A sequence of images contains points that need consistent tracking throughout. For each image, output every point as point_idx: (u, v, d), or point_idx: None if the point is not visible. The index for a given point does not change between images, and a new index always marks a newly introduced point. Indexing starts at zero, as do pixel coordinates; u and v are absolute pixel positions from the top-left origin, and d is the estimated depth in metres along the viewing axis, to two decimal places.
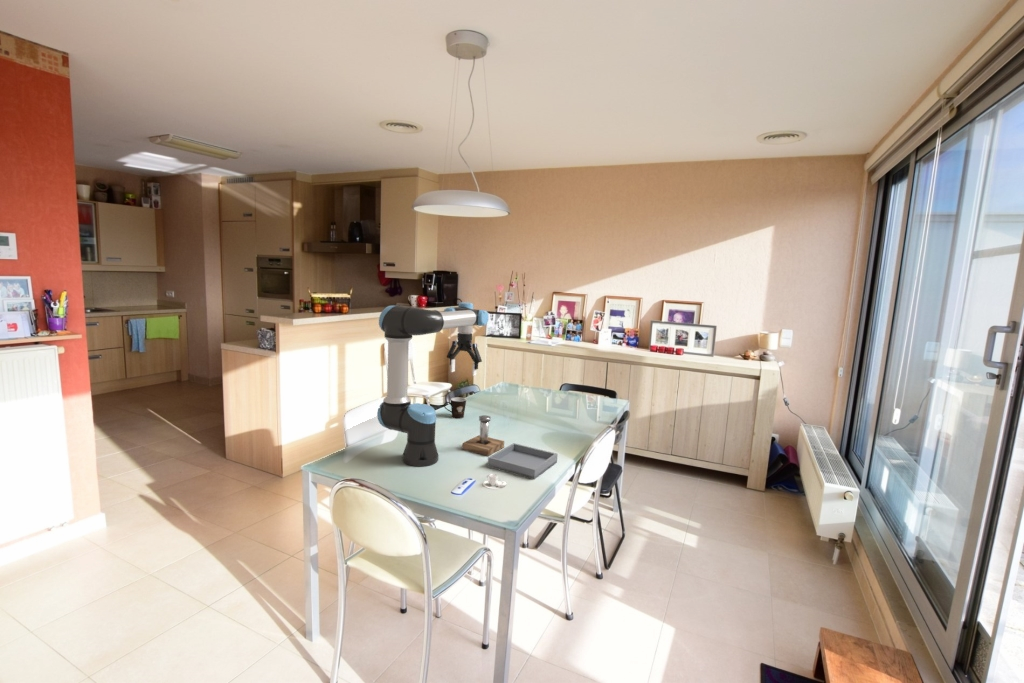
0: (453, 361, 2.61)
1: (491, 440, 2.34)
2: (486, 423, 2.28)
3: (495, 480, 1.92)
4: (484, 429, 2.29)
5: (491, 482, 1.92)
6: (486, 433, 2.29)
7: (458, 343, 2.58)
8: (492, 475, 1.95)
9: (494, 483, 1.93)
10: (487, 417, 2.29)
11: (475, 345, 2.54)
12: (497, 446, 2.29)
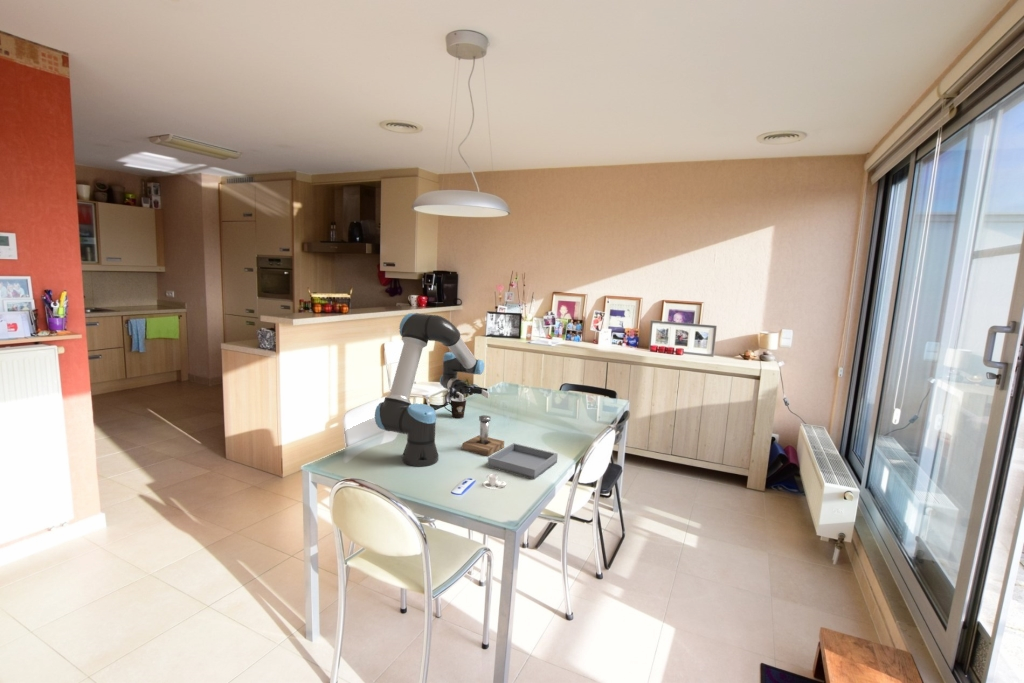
0: None
1: (491, 440, 2.34)
2: (486, 423, 2.28)
3: (495, 480, 1.92)
4: (484, 429, 2.29)
5: (491, 482, 1.92)
6: (486, 433, 2.29)
7: (456, 387, 2.49)
8: (492, 475, 1.95)
9: (494, 483, 1.92)
10: (487, 417, 2.29)
11: None
12: (497, 446, 2.29)
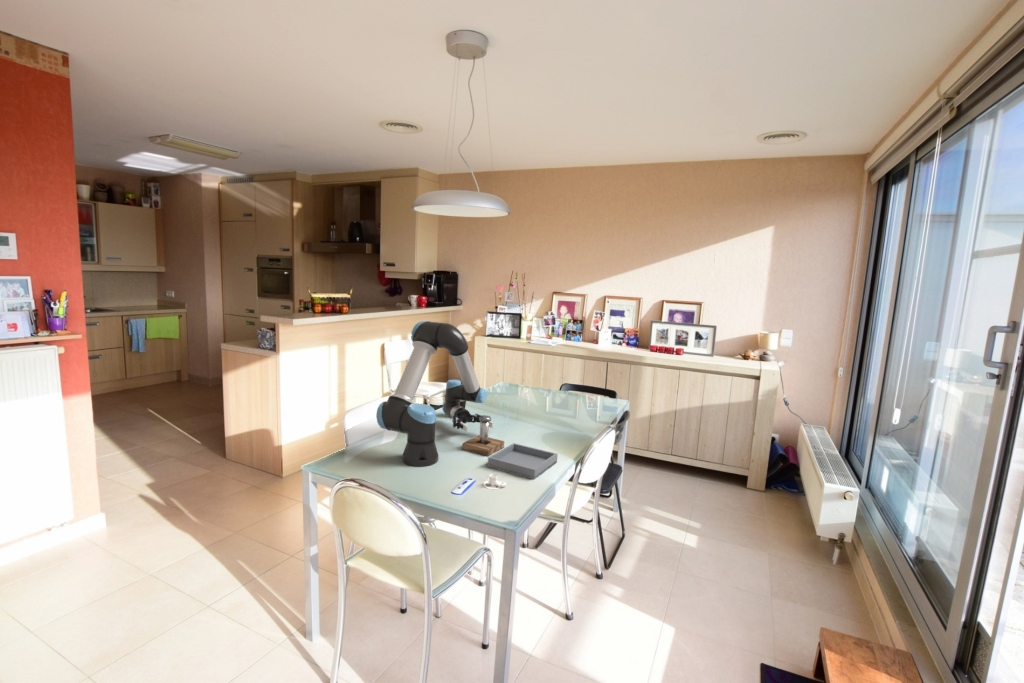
0: None
1: (491, 440, 2.34)
2: (486, 423, 2.28)
3: (495, 480, 1.92)
4: (484, 429, 2.29)
5: (491, 482, 1.92)
6: (486, 433, 2.29)
7: (460, 416, 2.47)
8: (492, 475, 1.95)
9: (494, 483, 1.92)
10: (487, 417, 2.29)
11: None
12: (497, 446, 2.29)
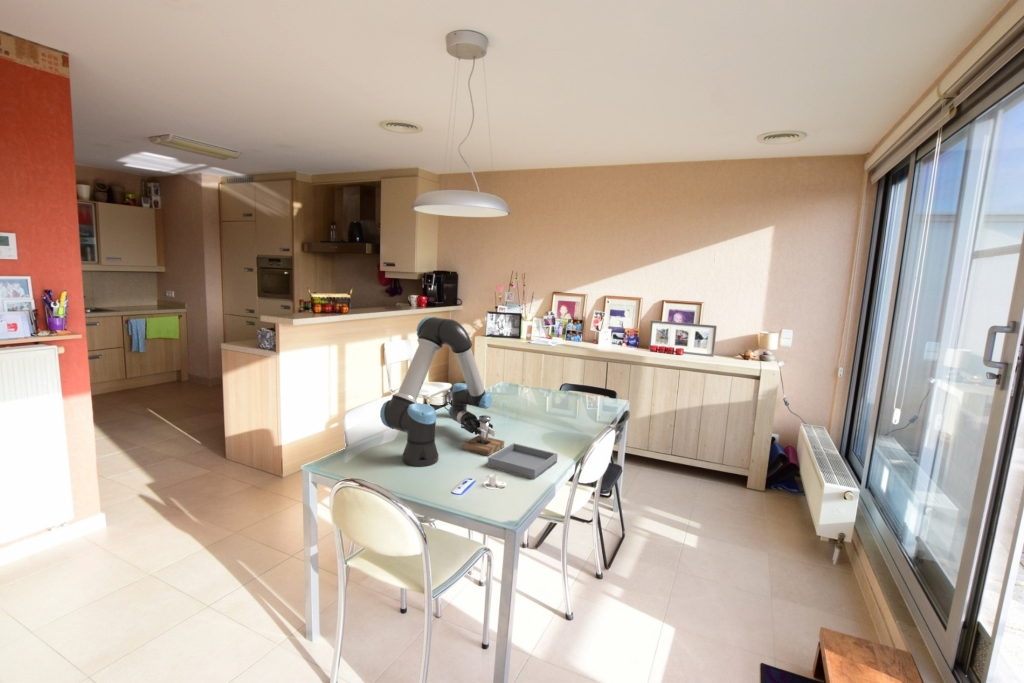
0: None
1: (491, 440, 2.34)
2: (486, 423, 2.28)
3: (495, 480, 1.92)
4: (484, 429, 2.29)
5: (491, 482, 1.92)
6: (486, 433, 2.29)
7: (466, 421, 2.39)
8: (492, 475, 1.94)
9: (494, 483, 1.92)
10: (487, 417, 2.29)
11: None
12: (497, 446, 2.29)
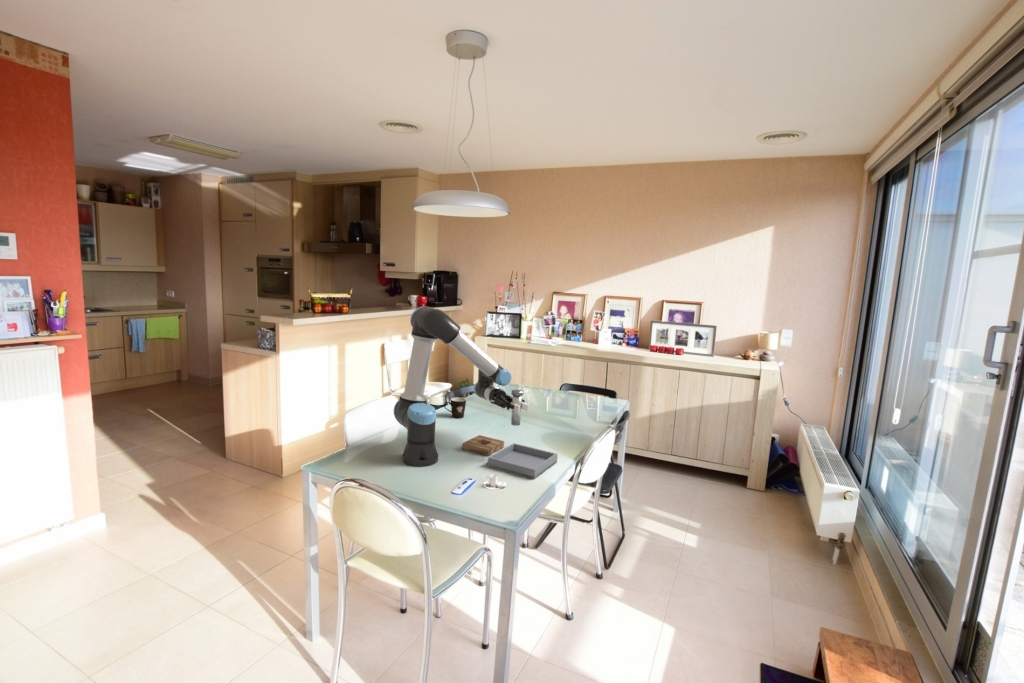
0: None
1: (491, 440, 2.34)
2: (519, 397, 2.17)
3: (495, 481, 1.92)
4: (517, 403, 2.17)
5: (491, 483, 1.92)
6: None
7: (496, 396, 2.27)
8: (492, 476, 1.94)
9: (494, 484, 1.92)
10: (520, 391, 2.18)
11: None
12: (497, 446, 2.29)
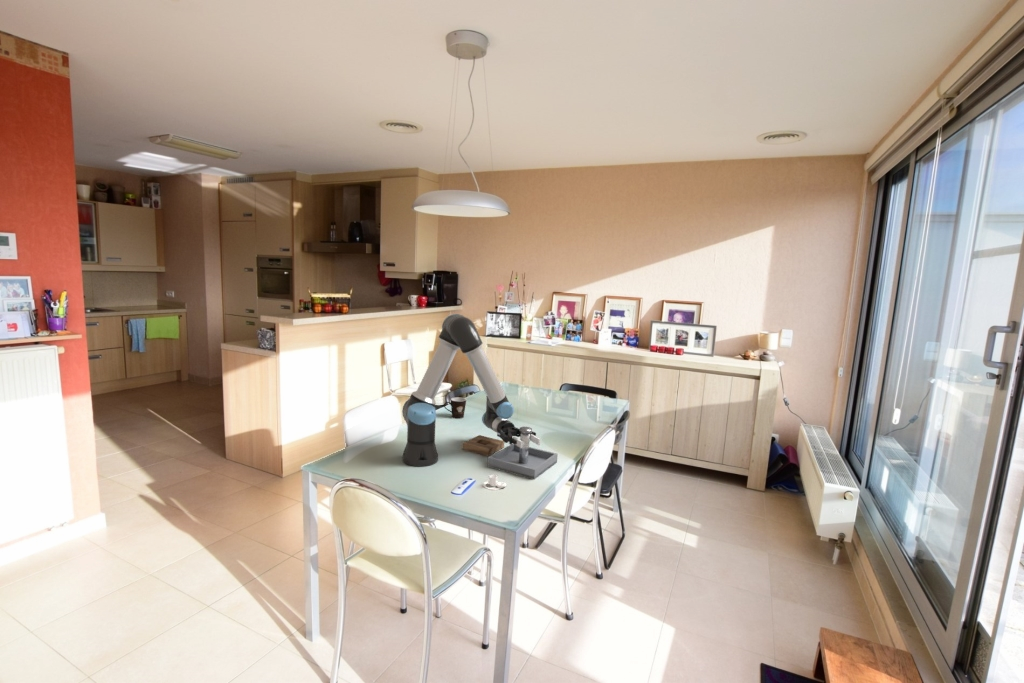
0: None
1: (491, 440, 2.34)
2: (527, 435, 2.11)
3: (495, 481, 1.92)
4: (525, 442, 2.12)
5: (491, 483, 1.92)
6: (527, 446, 2.12)
7: (504, 429, 2.22)
8: (492, 476, 1.94)
9: (494, 484, 1.92)
10: (528, 429, 2.12)
11: None
12: (497, 446, 2.29)
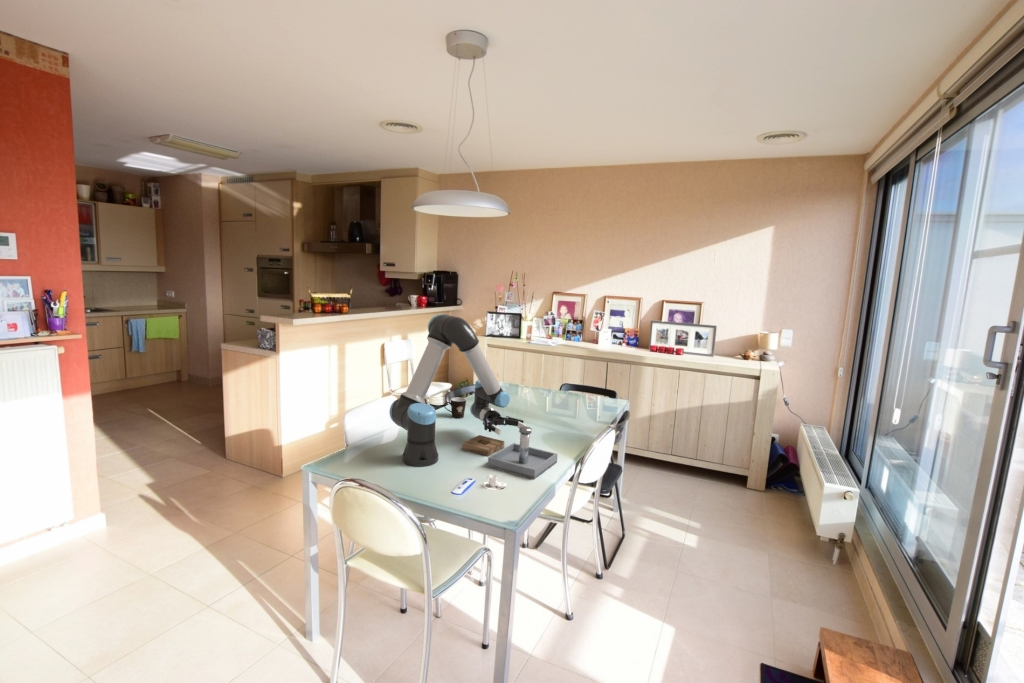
0: None
1: (491, 440, 2.34)
2: (527, 435, 2.12)
3: (495, 481, 1.92)
4: (525, 441, 2.12)
5: (491, 483, 1.92)
6: (527, 446, 2.13)
7: (490, 418, 2.33)
8: (492, 476, 1.94)
9: (494, 484, 1.92)
10: (528, 429, 2.12)
11: None
12: (497, 446, 2.29)
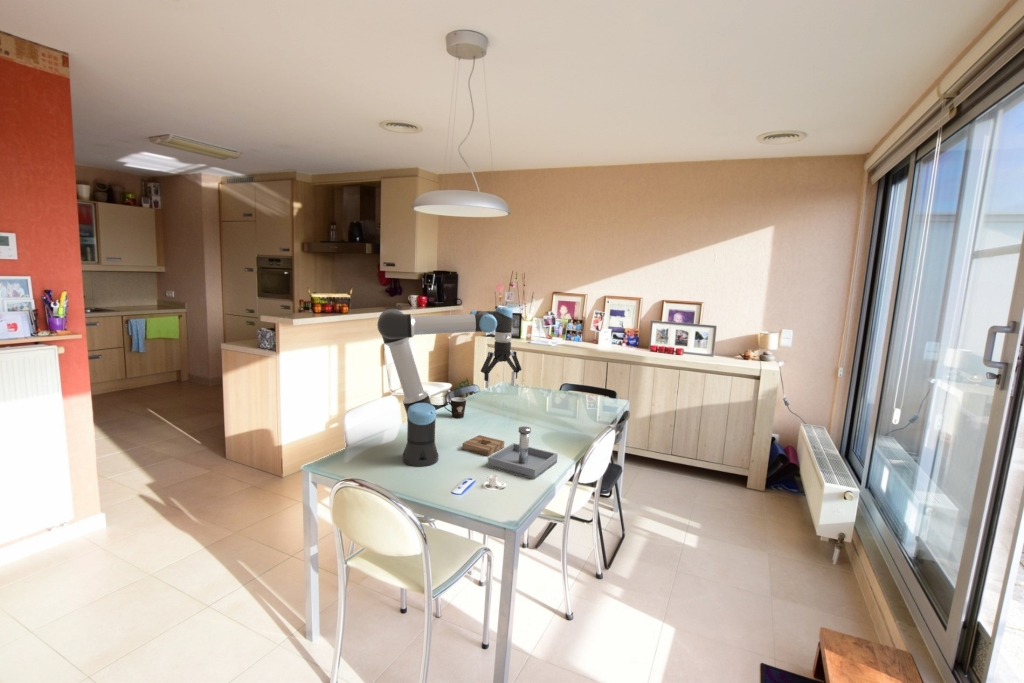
0: (513, 374, 2.34)
1: (491, 440, 2.34)
2: (526, 435, 2.12)
3: (495, 481, 1.91)
4: (525, 441, 2.12)
5: (491, 483, 1.91)
6: (526, 446, 2.13)
7: None
8: (492, 476, 1.94)
9: (494, 484, 1.91)
10: (527, 428, 2.13)
11: (488, 354, 2.26)
12: (497, 446, 2.29)
